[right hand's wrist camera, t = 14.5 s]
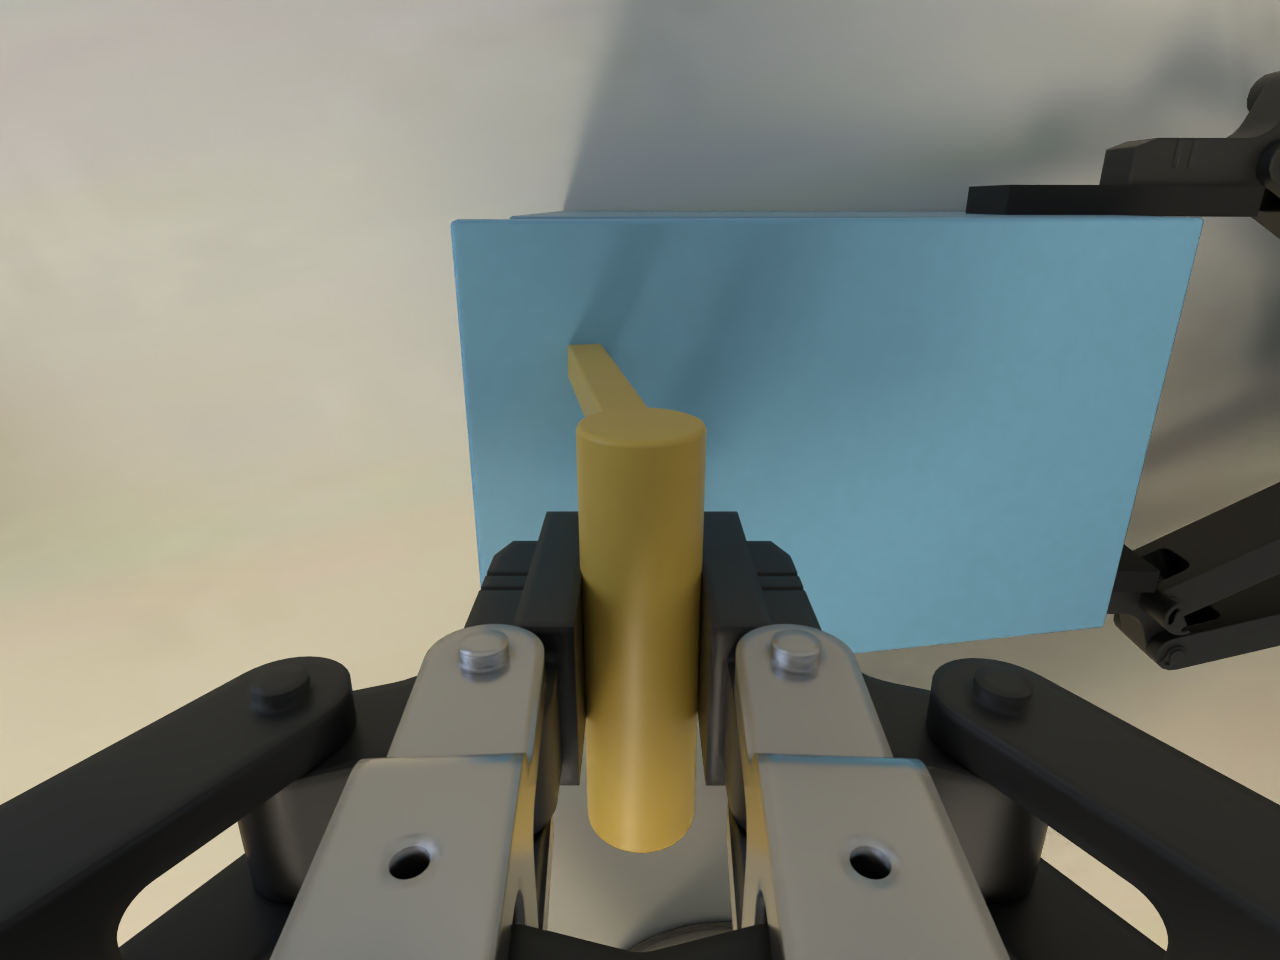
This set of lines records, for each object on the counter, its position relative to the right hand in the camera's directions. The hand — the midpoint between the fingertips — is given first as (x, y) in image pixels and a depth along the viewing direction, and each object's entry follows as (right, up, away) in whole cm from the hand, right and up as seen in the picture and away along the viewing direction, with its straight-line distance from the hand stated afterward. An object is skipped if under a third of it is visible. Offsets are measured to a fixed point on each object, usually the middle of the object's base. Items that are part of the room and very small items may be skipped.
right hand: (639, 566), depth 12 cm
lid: (+4, +2, +6) cm, 7 cm away
